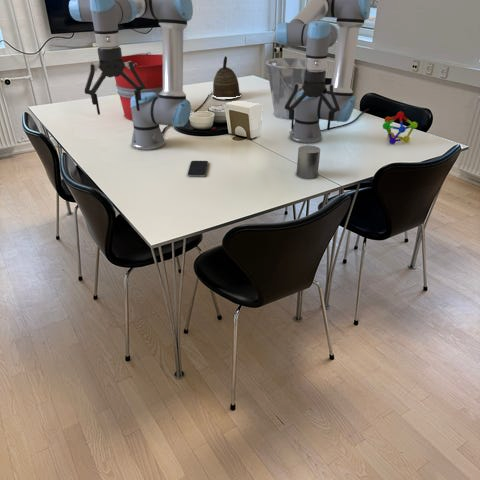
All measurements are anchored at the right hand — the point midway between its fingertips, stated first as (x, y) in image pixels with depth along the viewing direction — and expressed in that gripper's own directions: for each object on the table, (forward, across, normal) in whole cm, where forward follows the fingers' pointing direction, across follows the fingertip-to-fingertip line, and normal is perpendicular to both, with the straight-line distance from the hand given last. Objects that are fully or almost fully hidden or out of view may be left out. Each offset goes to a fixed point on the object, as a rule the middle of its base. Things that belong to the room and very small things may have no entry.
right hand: (310, 128), depth 168 cm
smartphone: (+19, -44, 0) cm, 48 cm away
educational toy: (+19, +43, +43) cm, 64 cm away
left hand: (-9, -68, -17) cm, 71 cm away
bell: (+19, -50, +116) cm, 128 cm away
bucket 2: (+19, -8, +84) cm, 86 cm away
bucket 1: (+19, -88, +73) cm, 116 cm away
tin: (+19, 0, 0) cm, 19 cm away
